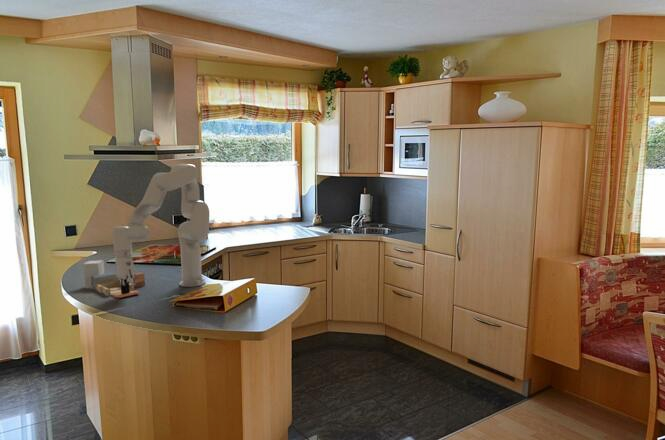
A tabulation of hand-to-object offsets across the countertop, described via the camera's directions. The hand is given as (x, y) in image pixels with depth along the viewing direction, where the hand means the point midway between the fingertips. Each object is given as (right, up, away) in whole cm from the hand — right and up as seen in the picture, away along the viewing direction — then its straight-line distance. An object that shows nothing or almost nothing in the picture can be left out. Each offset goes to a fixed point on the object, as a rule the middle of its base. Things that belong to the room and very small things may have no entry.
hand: (125, 293), depth 228 cm
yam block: (-1, 0, +19) cm, 19 cm away
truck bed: (-11, -1, +12) cm, 17 cm away
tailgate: (-4, -1, +5) cm, 6 cm away
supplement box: (-24, 0, +23) cm, 33 cm away
